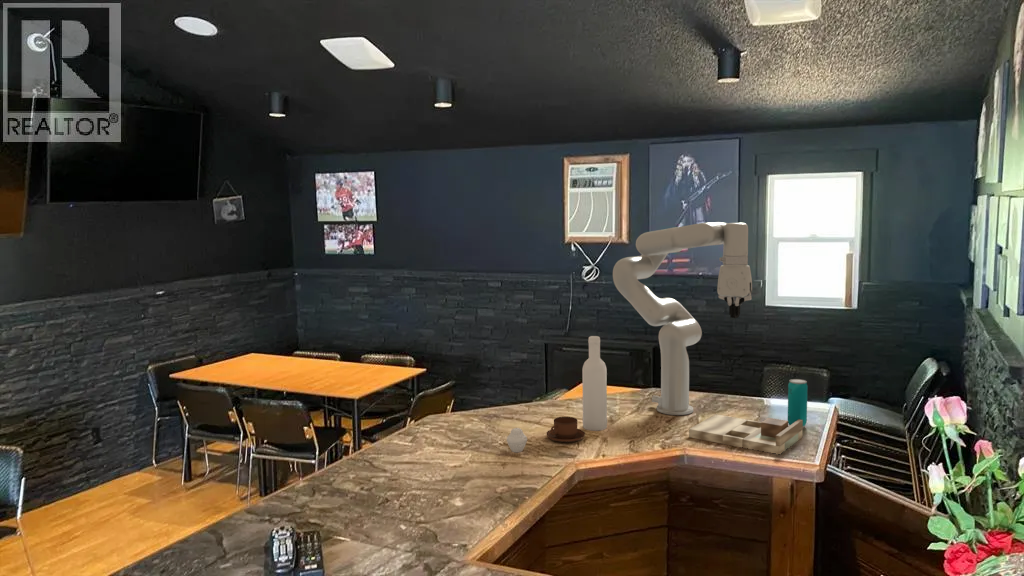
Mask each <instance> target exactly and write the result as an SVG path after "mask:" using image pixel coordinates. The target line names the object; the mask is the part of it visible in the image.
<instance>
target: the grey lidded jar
mask: <svg viewBox="0 0 1024 576" xmlns="http://www.w3.org/2000/svg"><path fill="white" fill-rule="evenodd" d="M523 431H524V430H522V428H520V427H515V428H512V429H511V430H510V433H509V435H507V436H506V442H507V445H508V447H509V448H510V451H511V452H512V453H521V452H523V450H524V448H525V447H526V445H527V442H528V437H527V435H526V434H525V432H523Z"/></svg>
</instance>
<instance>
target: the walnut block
mask: <svg viewBox="0 0 1024 576" xmlns="http://www.w3.org/2000/svg"><path fill="white" fill-rule="evenodd" d="M760 422H761V435H762V436H768V437H773V438H776V435H777V434H779V433H780V432H782V431H783V430H784V429H786V428H787V427H789V423H788V420H785V419H779V418H778V419H777V418H772V417H767V418H765V419H764V420H762V421H760Z"/></svg>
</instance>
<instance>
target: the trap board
mask: <svg viewBox="0 0 1024 576" xmlns="http://www.w3.org/2000/svg"><path fill="white" fill-rule="evenodd" d="M761 422H762V421H756V420H751V419H747V418H740V417H733V416H729V415H722V414H716V413H715V414H714V415H711V416H710V417H708V418H706V419H704V420H703V421H701V422H700V423H697V424H695V425H693V426H691V427H690V428H688V438H693V439H696V440H702V441H707V442H712V443H717V444H722V445H728V446H731V447H732V446H733V447H737V448H742V447H743V448H742V449H747V448H748V450H752V449H754V450H753V451H757V450H759V452H762V451H764V452H763V453H767V452H771V453H770V454H772V453H776V454H775V455H778V454H780V455H781V453H782V452H783V451H784V452H786V451H787V450H788V449H789V448H791V447H793V445H794V444H796V443H797V442H798V441H800V440H801V439H802V438H803V429H804V428H803V420H800V419H798V420H797V421H796V422H794V423H793V424H791V425H790V426H789V425H788V427H787V428H786V429H784V430H783V431H782V432H780V433H779V434H777V435H776V438H773V437H768V436H762V435H761ZM790 446H791V447H790ZM787 448H788V449H787ZM786 449H787V450H786ZM784 452H783V453H784ZM783 453H782V454H783Z"/></svg>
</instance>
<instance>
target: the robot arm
mask: <svg viewBox="0 0 1024 576" xmlns="http://www.w3.org/2000/svg"><path fill="white" fill-rule="evenodd" d="M719 245H723V251H722V252H723V254H722V256H721V257H719V259H718V260H719V262H722V265H720V267H719V271H718V277H717V278H718V279H717V286H716V287H717V294H718V299H720V300H723V301H725V302H726V303H727V305H728V307H729V316H730V318H731V319H738V318H739V317H740V316H741V305H743V304H744V302H746V301H747V302H748V301H751V300H752V297H753V296H752V293H753V279H752V272H751V267H750V265H748V264H749V263H748V261H749V259H748V257H749V255H748V254H749V226H748V224H747V223H745V222H729V223H728V222H721V221H715V222H713V221H712V222H700V223H694V224H689V225H682V226H676V227H675V226H674V227H669V228H665V229H658V230H651V231H646V232H643V233H642V234H640V235H639V236H638V237H637V238H636V240H635V248H636V250H637V251H638V252H639V254H640V255H637V256H635V255H634V256H627V257H623V258H621V259H619V260H617V261H616V263H615V264H614V266H613V269H612V280H613V284H614V286H615V288H616V290H617V291H618V292H619V293H620V294H621V295H622V296H623V298H624V299H626V300H627V301H628V302H629V303H630V305H632V307H633V308H634V309H635V311H637V313H638V314H639V315H640V316H641V317H642V318H643V320H644V321H645V322H646V323H647V324H648V325H650V326H652V327H660V326H662V327H660V330H659V331H658V343H659V349H660V367H661V369H660V396H659V395H654V394H653V395H652V397H651V402H652V403H657V405H656V411H657V412H659V413H660V414H664V415H670V416H685V415H689V414H692V413H694V407H693V406H692V405H690V404H689V403H690V359H689V353H688V351H687V347H689V346H693V345H695V344H697V343H698V342H699V341H701V338H702V336H703V334H702V332H703V331H702V328H701V326H700V324H699V322H698V321H697V320H696V319H695V318H694V316H692V314H691V313H690V312H689V311H688V310H687V309H686V308H685V306H683V305H682V303H681V302H679V301H677V299H674V298H672V297H663V298H662V297H658V296H657V295H655V294H654V292H653V291H652V290H651V289H650V288H649V287H648V286H646V285H645V284H644V283H642V282H640V281H639V280H645V279H648V278H650V277H651V276H653V275H654V274H655V273H656V272H657V271H658V269H659V267H660V266H661V264H662V263H663V261H664V260H665V259H666V257H667V256H668V254H673V253H679V252H681V251H683V250H686V249H687V250H688V249H692V248H700V247H709V246H719Z"/></svg>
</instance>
